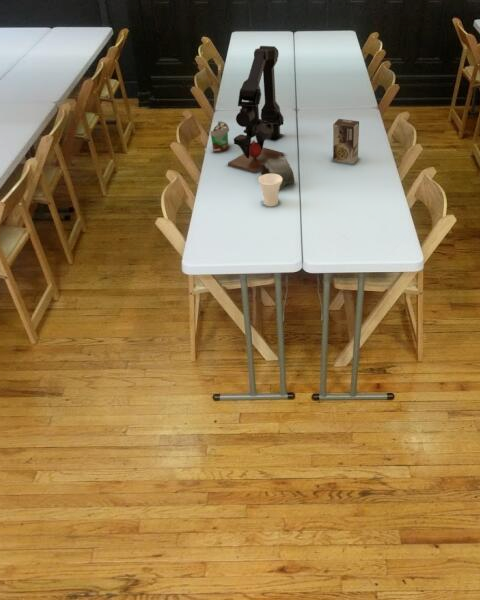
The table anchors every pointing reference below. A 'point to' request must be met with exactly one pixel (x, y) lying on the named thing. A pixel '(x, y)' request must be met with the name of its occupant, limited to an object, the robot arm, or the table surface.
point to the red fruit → (254, 149)
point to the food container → (220, 137)
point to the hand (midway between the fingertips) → (254, 154)
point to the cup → (270, 188)
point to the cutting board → (254, 160)
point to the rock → (278, 169)
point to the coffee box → (345, 141)
